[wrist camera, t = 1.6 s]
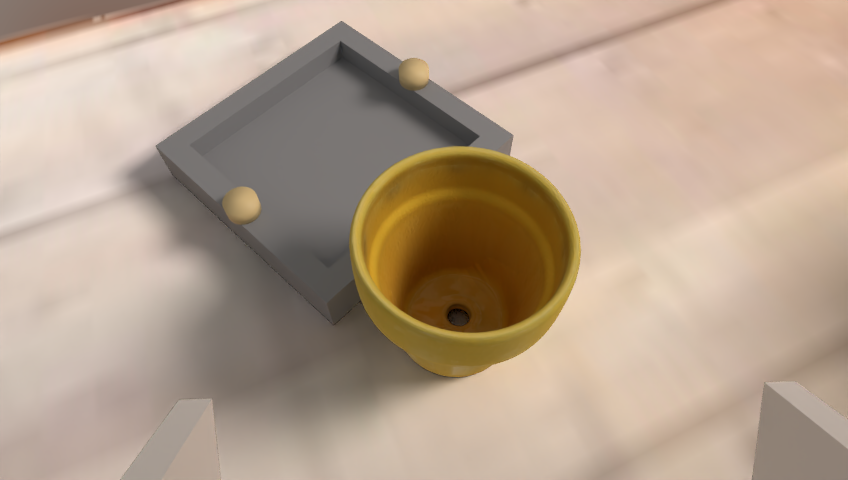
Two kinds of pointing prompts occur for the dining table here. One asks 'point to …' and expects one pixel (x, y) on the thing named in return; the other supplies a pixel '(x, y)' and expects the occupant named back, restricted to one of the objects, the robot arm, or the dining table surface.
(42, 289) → the dining table surface
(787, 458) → the robot arm
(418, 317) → the plant pot
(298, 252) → the base
